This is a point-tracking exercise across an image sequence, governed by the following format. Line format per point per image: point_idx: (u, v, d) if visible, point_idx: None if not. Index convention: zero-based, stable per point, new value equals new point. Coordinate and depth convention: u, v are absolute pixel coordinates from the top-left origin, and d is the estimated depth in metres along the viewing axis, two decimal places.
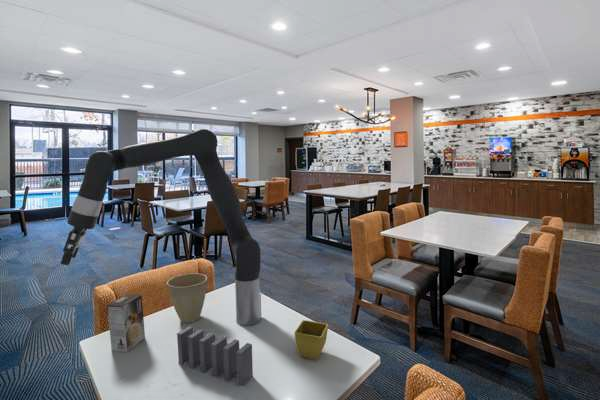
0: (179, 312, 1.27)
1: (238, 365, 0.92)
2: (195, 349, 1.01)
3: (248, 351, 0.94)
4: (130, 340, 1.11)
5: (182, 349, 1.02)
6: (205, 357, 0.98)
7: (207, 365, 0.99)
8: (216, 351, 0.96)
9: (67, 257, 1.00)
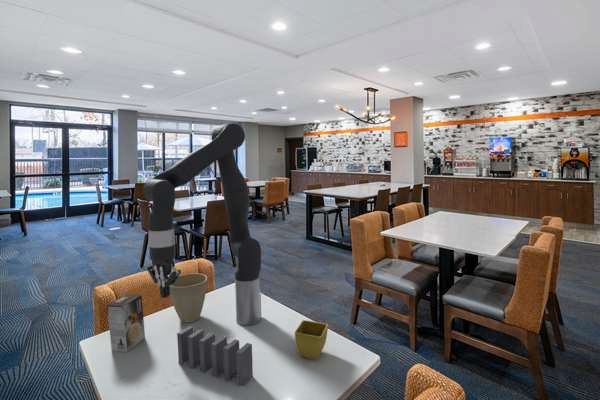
0: (179, 312, 1.27)
1: (238, 365, 0.92)
2: (195, 349, 1.01)
3: (248, 351, 0.94)
4: (130, 340, 1.11)
5: (182, 349, 1.02)
6: (205, 357, 0.98)
7: (207, 365, 0.99)
8: (216, 351, 0.96)
9: (168, 289, 1.05)
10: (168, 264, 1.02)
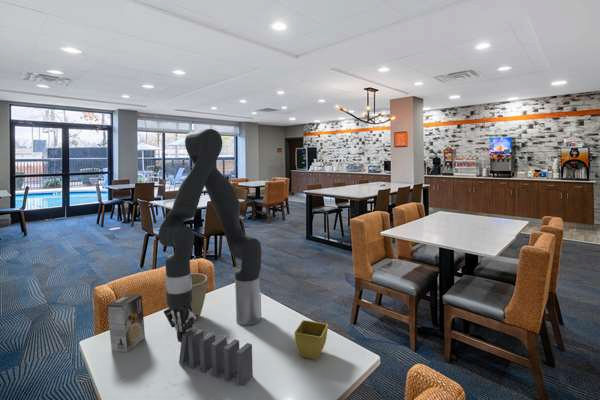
0: None
1: (238, 365, 0.92)
2: (195, 349, 1.01)
3: (248, 351, 0.94)
4: (130, 340, 1.11)
5: (185, 350, 1.02)
6: (205, 357, 0.98)
7: (207, 365, 0.99)
8: (216, 351, 0.96)
9: None
10: (186, 309, 1.01)
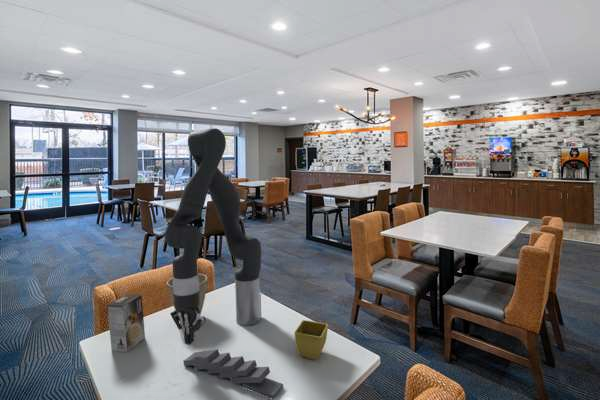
0: None
1: (260, 392, 0.89)
2: None
3: None
4: (130, 340, 1.11)
5: None
6: None
7: None
8: None
9: (192, 336, 1.03)
10: (193, 311, 1.00)
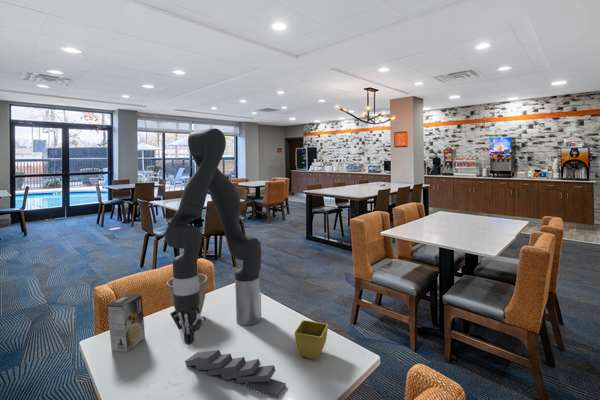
0: None
1: (264, 392, 0.89)
2: None
3: None
4: (130, 340, 1.11)
5: None
6: None
7: None
8: None
9: (192, 336, 1.03)
10: (193, 311, 1.00)
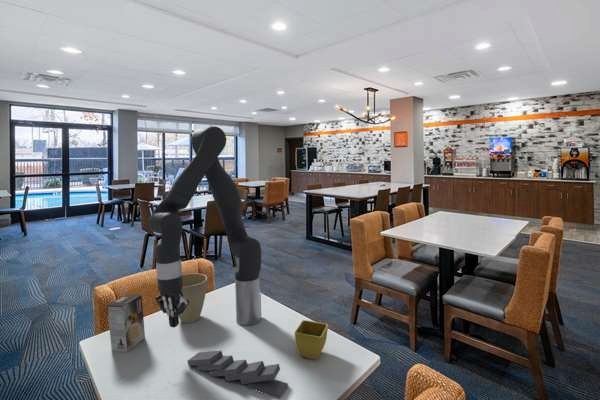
0: None
1: (266, 393, 0.89)
2: None
3: None
4: (130, 340, 1.11)
5: None
6: None
7: None
8: None
9: (177, 319, 1.07)
10: (177, 295, 1.03)
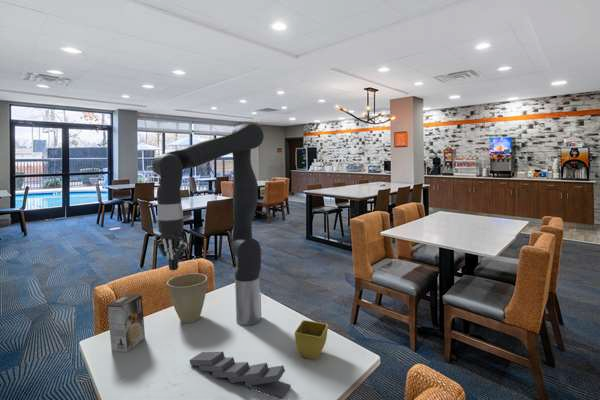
0: (179, 312, 1.27)
1: (269, 393, 0.89)
2: None
3: None
4: (130, 340, 1.11)
5: None
6: None
7: None
8: None
9: (176, 262, 1.08)
10: (177, 237, 1.05)
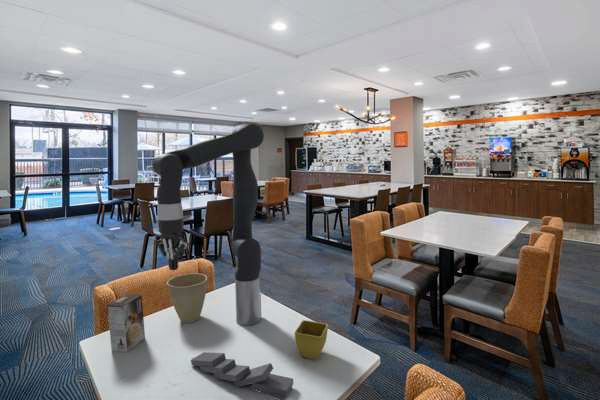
0: (179, 312, 1.27)
1: (270, 394, 0.89)
2: None
3: None
4: (130, 340, 1.11)
5: None
6: None
7: None
8: None
9: (176, 262, 1.08)
10: (177, 237, 1.05)
